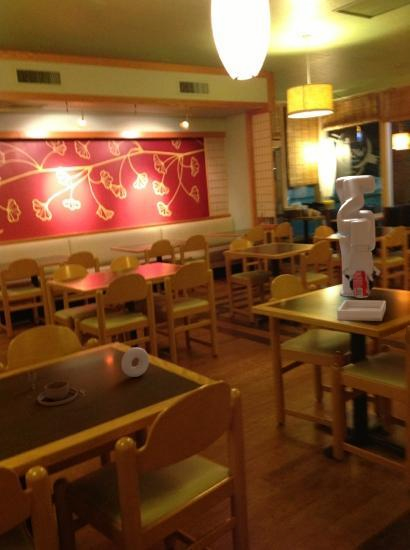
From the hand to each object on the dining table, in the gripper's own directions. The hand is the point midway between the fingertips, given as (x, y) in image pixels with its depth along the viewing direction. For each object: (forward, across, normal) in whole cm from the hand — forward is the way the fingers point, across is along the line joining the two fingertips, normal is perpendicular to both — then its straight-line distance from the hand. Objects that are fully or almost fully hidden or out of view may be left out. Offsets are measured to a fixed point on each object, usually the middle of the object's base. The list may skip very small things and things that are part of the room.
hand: (361, 289), depth 231 cm
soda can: (+3, 0, 0) cm, 3 cm away
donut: (+12, +61, +90) cm, 109 cm away
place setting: (+13, +79, +109) cm, 135 cm away
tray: (+11, 0, 0) cm, 11 cm away
